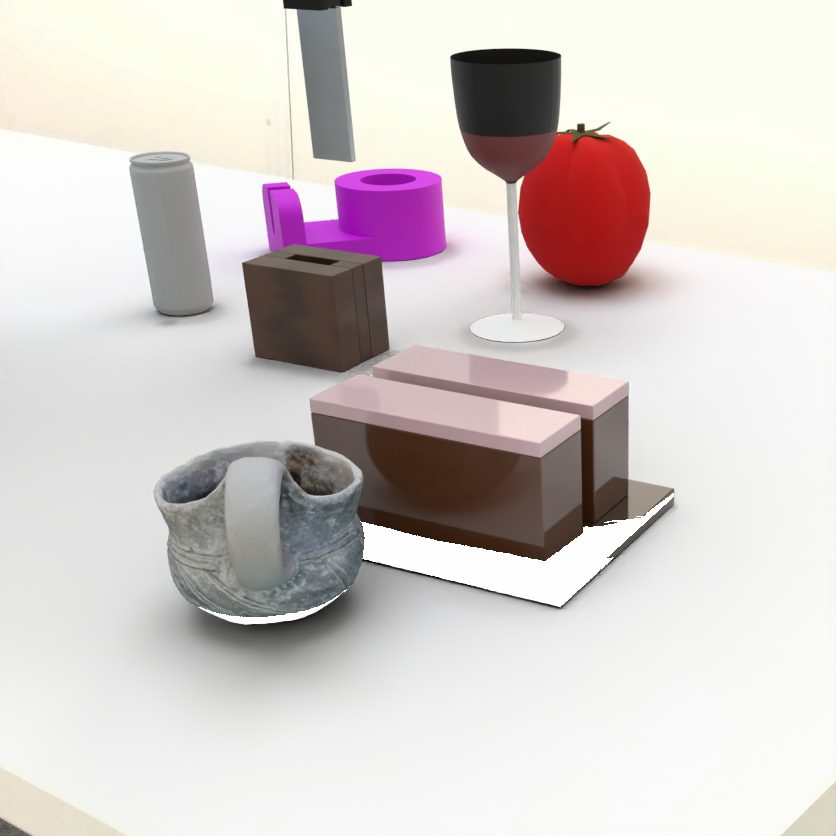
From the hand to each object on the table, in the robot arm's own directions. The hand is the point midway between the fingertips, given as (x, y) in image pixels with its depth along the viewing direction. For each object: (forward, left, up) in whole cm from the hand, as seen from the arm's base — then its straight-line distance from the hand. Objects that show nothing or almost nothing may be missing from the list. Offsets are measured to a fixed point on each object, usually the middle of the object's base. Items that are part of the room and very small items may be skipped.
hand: (318, 6), depth 81 cm
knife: (0, 0, -9) cm, 9 cm away
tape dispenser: (-22, +31, -25) cm, 46 cm away
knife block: (-7, +5, -24) cm, 26 cm away
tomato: (+2, +31, -25) cm, 40 cm away
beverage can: (-24, +9, -25) cm, 36 cm away
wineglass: (+3, +17, -25) cm, 30 cm away
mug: (+16, -29, -25) cm, 41 cm away
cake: (+19, -15, -24) cm, 34 cm away
